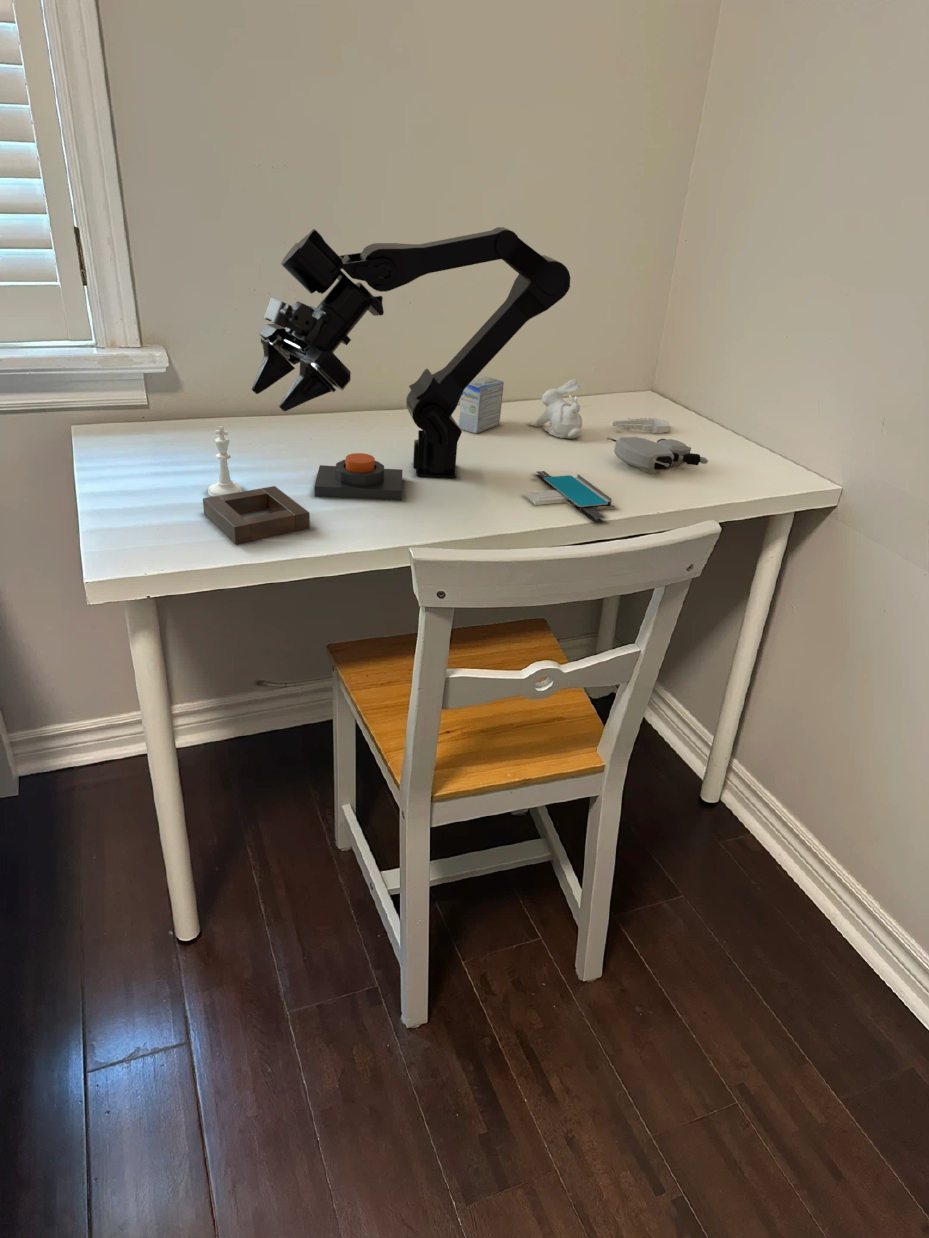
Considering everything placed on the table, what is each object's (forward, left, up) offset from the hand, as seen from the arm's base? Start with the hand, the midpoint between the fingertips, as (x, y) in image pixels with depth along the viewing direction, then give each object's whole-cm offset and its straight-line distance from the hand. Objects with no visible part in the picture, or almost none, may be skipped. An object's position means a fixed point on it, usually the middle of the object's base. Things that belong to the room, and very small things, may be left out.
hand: (267, 400), depth 125 cm
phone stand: (-45, 0, -13) cm, 47 cm away
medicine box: (-34, -34, -13) cm, 51 cm away
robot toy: (-64, -17, -13) cm, 68 cm away
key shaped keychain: (-67, -38, -13) cm, 79 cm away
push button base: (-13, 0, -13) cm, 19 cm away
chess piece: (+6, +4, -13) cm, 15 cm away
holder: (0, +14, -13) cm, 19 cm away
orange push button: (-13, 0, -10) cm, 17 cm away
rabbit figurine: (-50, -34, -13) cm, 63 cm away
